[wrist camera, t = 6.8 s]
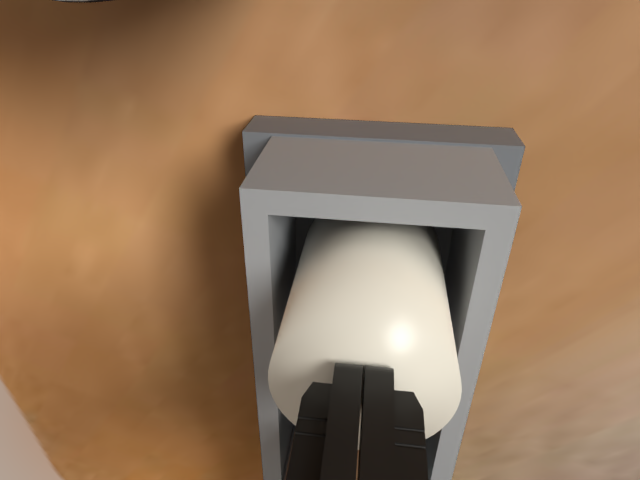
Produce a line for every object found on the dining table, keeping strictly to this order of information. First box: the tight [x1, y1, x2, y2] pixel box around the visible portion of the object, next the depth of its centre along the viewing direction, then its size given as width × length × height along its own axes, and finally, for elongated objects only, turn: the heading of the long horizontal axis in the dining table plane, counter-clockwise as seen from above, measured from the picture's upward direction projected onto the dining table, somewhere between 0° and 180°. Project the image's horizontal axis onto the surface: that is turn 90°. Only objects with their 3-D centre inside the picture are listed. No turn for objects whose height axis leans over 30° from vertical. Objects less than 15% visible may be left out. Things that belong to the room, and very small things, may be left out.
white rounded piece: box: [268, 218, 462, 450], centre depth 15 cm, size 5×5×6 cm
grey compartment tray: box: [239, 115, 525, 480], centre depth 22 cm, size 10×22×6 cm, turn 179°
